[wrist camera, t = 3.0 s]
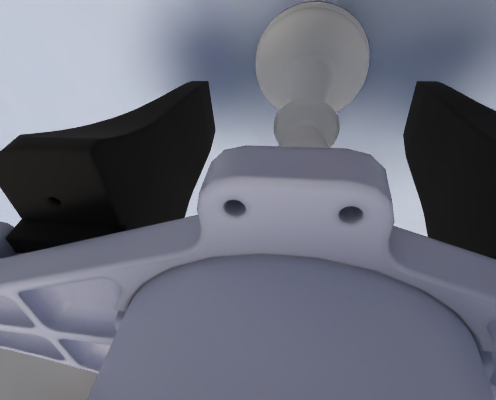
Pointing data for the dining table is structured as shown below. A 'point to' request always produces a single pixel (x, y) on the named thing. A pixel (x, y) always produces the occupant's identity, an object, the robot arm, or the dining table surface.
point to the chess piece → (311, 71)
